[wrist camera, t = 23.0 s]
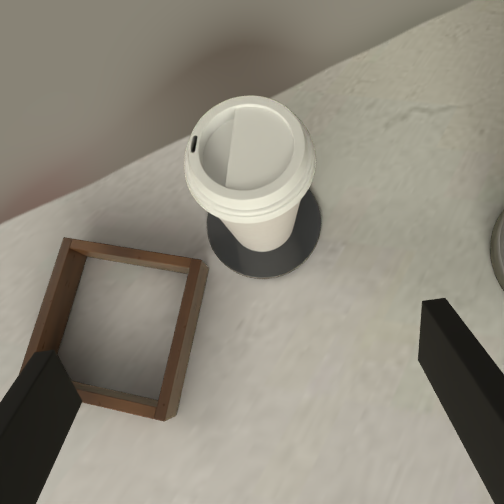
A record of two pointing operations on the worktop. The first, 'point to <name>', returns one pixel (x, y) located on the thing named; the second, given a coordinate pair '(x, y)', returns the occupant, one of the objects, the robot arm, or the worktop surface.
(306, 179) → the coffee cup
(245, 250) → the slate coaster
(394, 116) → the worktop surface
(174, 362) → the square wooden frame
